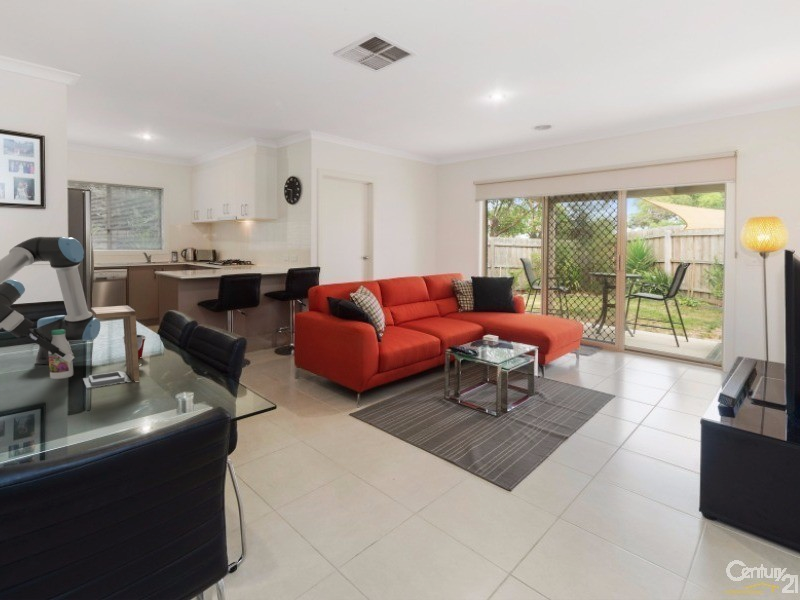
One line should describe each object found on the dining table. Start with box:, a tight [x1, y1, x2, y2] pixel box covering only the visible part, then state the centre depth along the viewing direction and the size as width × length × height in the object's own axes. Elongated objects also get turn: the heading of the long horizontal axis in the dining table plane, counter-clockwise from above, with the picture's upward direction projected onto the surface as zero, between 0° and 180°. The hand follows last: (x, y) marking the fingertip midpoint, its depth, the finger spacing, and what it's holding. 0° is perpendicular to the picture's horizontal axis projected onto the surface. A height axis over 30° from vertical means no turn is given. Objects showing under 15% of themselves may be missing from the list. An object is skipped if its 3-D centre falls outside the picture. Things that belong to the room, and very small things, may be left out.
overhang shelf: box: [90, 305, 140, 382], centre depth 193 cm, size 20×14×32 cm
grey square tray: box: [82, 370, 132, 390], centre depth 193 cm, size 16×16×2 cm
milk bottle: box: [48, 329, 74, 380], centre depth 181 cm, size 8×8×20 cm
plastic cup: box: [122, 334, 147, 359], centre depth 229 cm, size 11×11×12 cm
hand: (71, 357), depth 183 cm, fingers closed on milk bottle, 7 cm apart
